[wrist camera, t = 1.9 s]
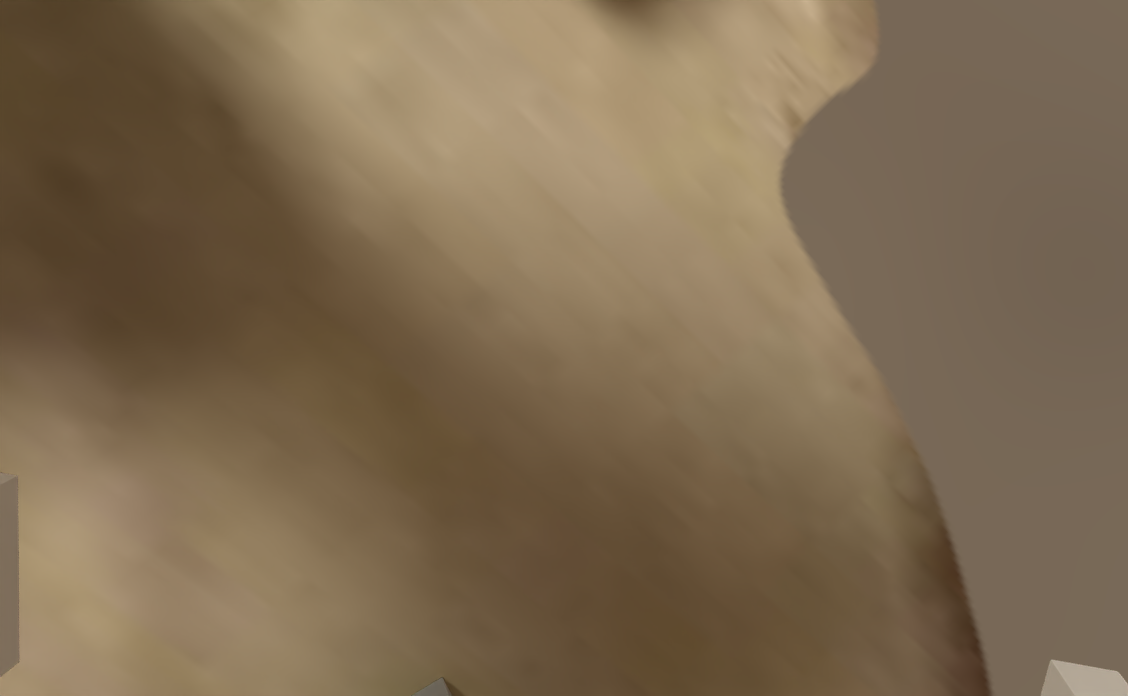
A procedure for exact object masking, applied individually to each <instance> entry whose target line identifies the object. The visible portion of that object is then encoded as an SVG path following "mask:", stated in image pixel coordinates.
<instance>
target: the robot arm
mask: <svg viewBox="0 0 1128 696" xmlns="http://www.w3.org/2000/svg"><path fill="white" fill-rule="evenodd" d="M17 663H19V550H18V476H17V475H12V474H6V473H1V472H0V677H1V676H2V675H4V674H5V673H6V672H7V671H9V670H10V669H11V668H12V667H14V666H15V665H16V664H17ZM1041 696H1128V684H1127V683H1126V681H1125V680H1124V679H1123V677H1122V676H1121V675H1120V673H1119V672H1118V671H1113V670H1107V669H1101V668H1095V667H1090V666H1085V665H1079V664H1074V663H1068V662H1062V661H1057V660H1050V663H1049V667H1048V671H1047V674H1046V678H1045V681H1044V685H1043V689H1042V692H1041Z"/></svg>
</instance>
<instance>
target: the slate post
mask: <svg viewBox="0 0 1128 696" xmlns="http://www.w3.org/2000/svg"><path fill="white" fill-rule="evenodd" d="M411 696H452V695H451V693H450V691H449V689H448V687H447V685H446V683H445V681H444V679H443V677H442V678H440V679H438V680H437V681H435V682H433V683H432V684H430V685H428V686H426V687H425V688H423V689H421V690H420V691H418V692H416V693H415V694H413V695H411Z"/></svg>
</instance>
